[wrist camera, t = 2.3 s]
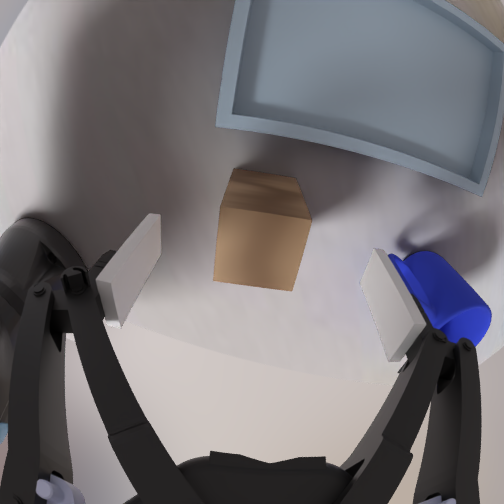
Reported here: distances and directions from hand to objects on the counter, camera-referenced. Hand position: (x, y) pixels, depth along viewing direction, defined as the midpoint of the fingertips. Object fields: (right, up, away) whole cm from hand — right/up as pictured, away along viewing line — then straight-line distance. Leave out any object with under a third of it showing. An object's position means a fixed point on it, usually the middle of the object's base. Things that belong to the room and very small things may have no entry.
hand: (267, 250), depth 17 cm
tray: (+10, +15, -1) cm, 18 cm away
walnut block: (0, +4, +6) cm, 8 cm away
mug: (+15, -1, +9) cm, 18 cm away
